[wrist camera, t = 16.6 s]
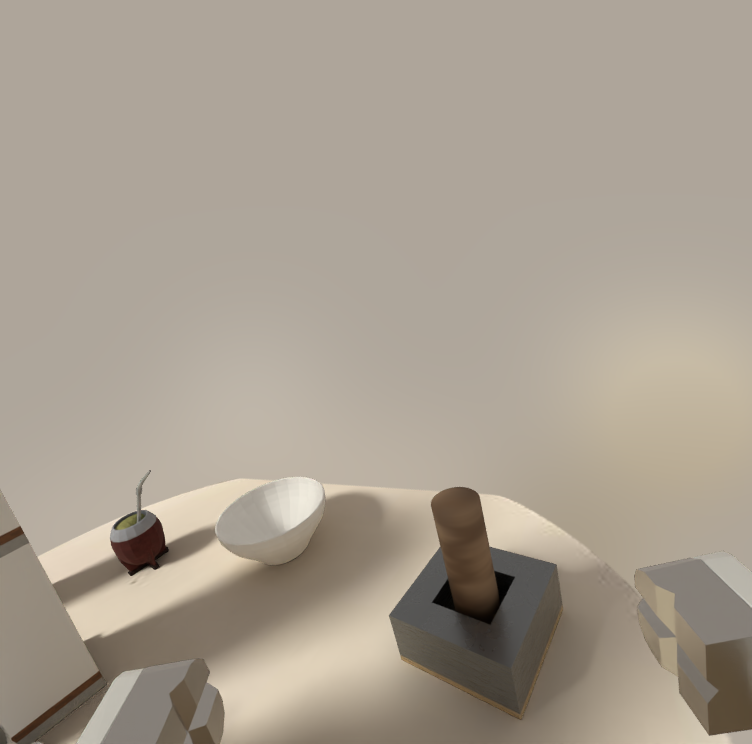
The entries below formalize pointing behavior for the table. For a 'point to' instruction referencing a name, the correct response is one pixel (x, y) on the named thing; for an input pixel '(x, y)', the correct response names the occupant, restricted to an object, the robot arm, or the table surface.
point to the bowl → (273, 520)
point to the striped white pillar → (36, 643)
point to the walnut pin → (466, 553)
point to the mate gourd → (138, 537)
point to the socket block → (482, 630)
